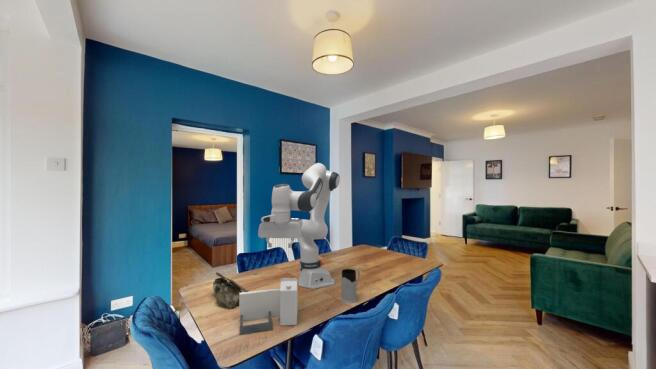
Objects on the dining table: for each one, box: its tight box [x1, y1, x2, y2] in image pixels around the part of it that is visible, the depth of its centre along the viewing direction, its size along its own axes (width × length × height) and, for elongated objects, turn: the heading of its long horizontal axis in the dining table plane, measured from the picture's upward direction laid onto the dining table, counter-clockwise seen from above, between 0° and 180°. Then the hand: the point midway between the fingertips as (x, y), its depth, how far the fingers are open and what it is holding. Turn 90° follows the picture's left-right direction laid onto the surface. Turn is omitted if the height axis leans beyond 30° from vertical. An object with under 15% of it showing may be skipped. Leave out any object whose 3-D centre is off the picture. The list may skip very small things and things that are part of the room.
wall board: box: [238, 287, 299, 323], centre depth 122 cm, size 26×2×12 cm, turn 107°
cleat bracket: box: [239, 311, 274, 336], centre depth 114 cm, size 13×10×3 cm
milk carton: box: [279, 277, 298, 326], centre depth 117 cm, size 7×7×19 cm
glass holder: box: [340, 268, 360, 304], centre depth 142 cm, size 9×14×15 cm, turn 140°
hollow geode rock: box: [212, 272, 250, 309], centre depth 140 cm, size 28×13×15 cm
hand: (279, 247), depth 125 cm, fingers open, 8 cm apart
